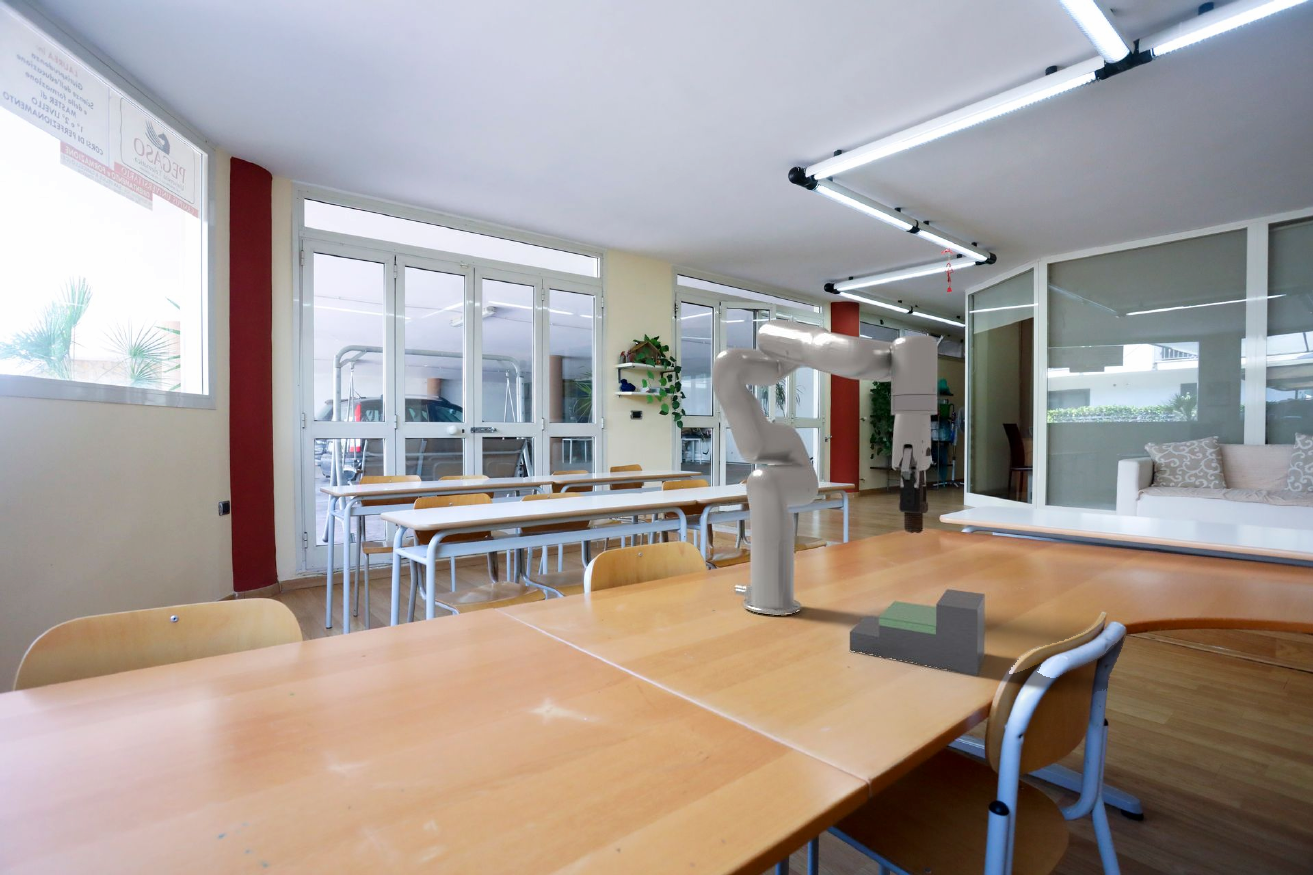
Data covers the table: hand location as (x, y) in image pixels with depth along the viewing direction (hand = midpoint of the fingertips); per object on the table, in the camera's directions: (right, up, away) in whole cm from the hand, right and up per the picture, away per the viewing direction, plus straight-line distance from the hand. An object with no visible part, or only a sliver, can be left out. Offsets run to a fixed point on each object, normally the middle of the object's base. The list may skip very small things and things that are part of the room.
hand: (913, 508), depth 107 cm
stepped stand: (0, -25, 0) cm, 25 cm away
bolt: (0, -4, 0) cm, 4 cm away
